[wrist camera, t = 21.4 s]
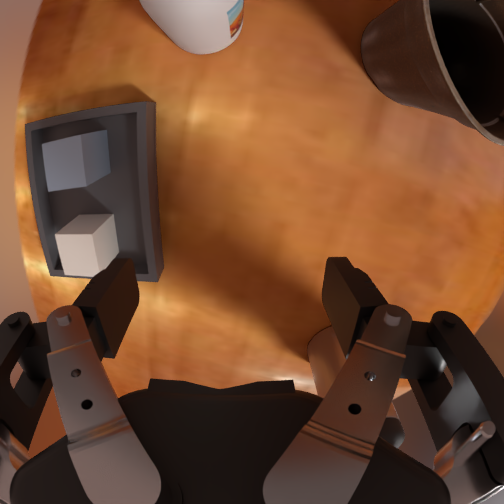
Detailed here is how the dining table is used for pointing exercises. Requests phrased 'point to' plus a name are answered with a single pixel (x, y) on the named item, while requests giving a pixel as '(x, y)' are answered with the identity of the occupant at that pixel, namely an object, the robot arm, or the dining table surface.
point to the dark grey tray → (104, 184)
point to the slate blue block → (76, 160)
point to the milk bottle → (198, 22)
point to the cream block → (87, 244)
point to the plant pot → (442, 59)
